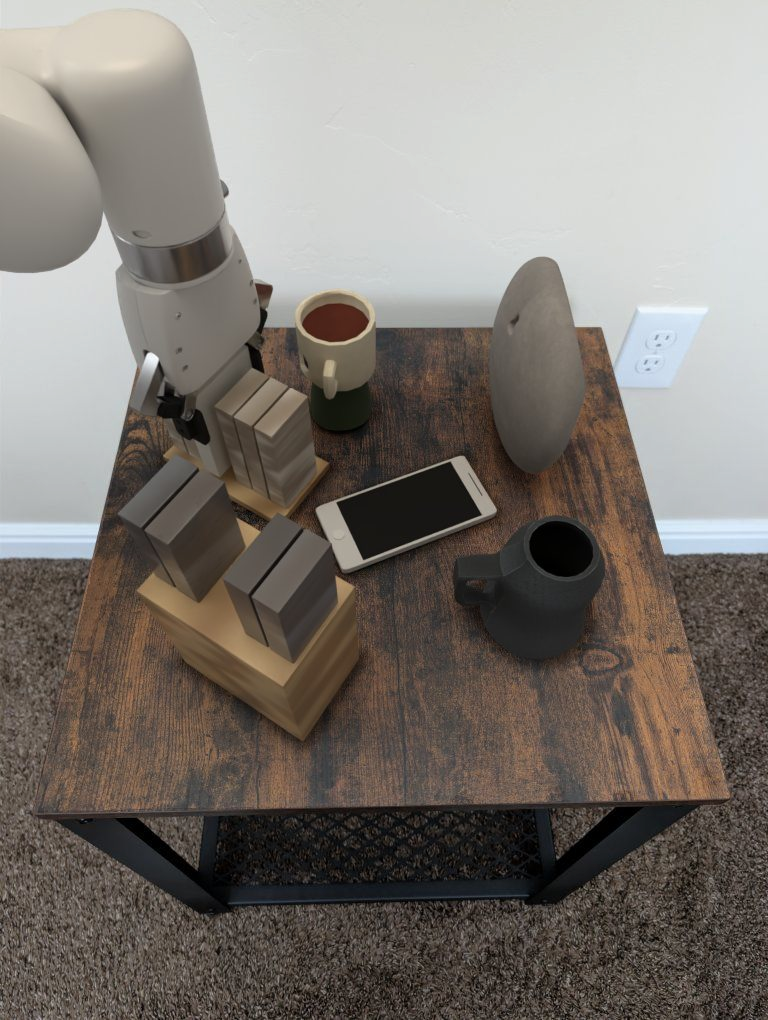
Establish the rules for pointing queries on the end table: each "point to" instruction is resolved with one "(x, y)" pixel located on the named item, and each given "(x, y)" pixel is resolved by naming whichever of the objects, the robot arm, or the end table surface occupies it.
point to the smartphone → (404, 513)
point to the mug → (535, 586)
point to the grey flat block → (207, 398)
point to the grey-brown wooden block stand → (262, 446)
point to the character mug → (337, 356)
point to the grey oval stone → (535, 367)
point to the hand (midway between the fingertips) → (223, 405)
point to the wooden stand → (244, 596)
